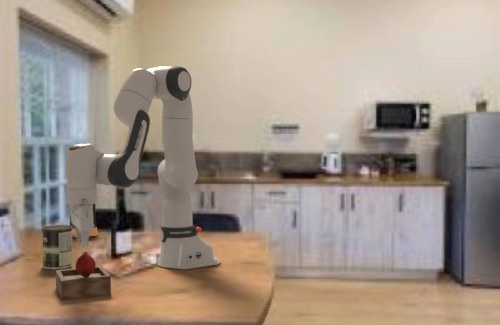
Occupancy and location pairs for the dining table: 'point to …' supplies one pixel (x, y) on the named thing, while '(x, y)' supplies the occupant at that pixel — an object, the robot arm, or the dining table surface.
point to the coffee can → (57, 247)
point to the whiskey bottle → (93, 225)
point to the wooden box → (82, 283)
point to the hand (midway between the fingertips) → (82, 243)
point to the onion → (85, 265)
